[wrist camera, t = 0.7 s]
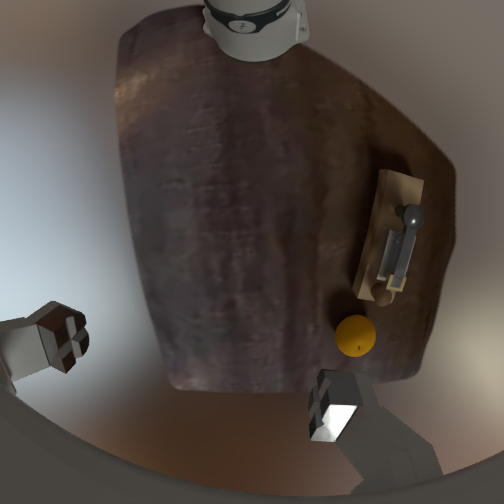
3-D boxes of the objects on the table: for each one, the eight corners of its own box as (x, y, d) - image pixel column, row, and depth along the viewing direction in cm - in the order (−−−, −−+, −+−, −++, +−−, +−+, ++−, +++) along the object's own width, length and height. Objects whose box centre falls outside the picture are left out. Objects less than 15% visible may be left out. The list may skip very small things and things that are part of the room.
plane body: (379, 169, 41) (397, 169, 33) (413, 179, 40) (435, 182, 33) (352, 288, 47) (363, 308, 40) (384, 293, 47) (398, 312, 40)
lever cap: (383, 225, 40) (389, 230, 37) (408, 231, 39) (416, 236, 37) (370, 272, 42) (376, 279, 39) (395, 276, 42) (402, 283, 39)
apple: (376, 328, 50) (387, 350, 42) (343, 348, 52) (350, 371, 44) (359, 301, 48) (370, 321, 41) (325, 323, 50) (331, 345, 43)
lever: (403, 200, 34) (407, 202, 33) (422, 206, 34) (427, 207, 33) (381, 285, 38) (384, 289, 37) (400, 288, 38) (403, 292, 37)
